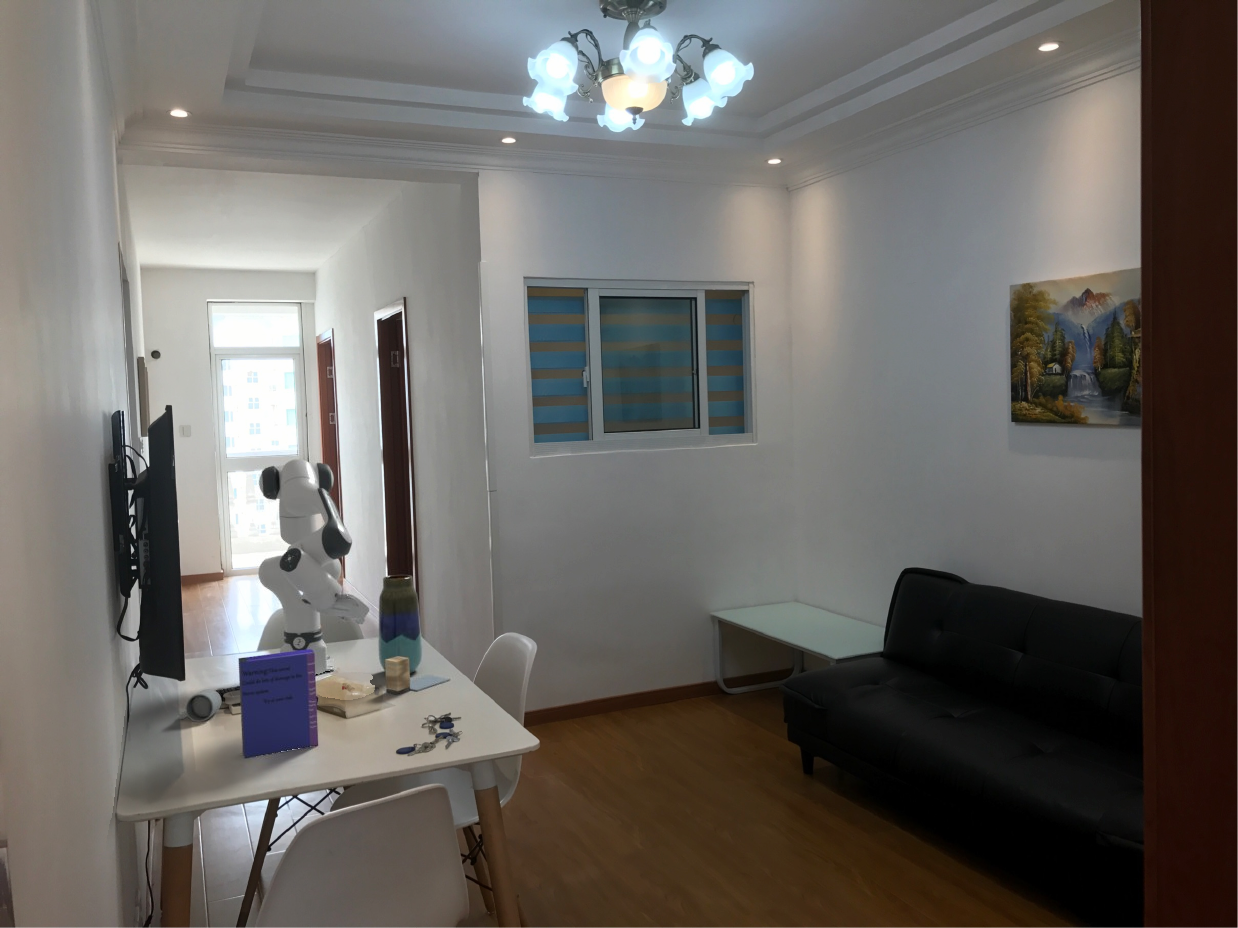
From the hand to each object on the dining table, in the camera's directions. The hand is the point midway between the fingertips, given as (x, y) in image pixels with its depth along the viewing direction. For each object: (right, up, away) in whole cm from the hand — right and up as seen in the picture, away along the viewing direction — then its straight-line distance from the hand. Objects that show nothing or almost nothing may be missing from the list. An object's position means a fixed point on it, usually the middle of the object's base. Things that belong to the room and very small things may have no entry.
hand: (354, 620), depth 275 cm
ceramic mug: (-41, -26, -7) cm, 49 cm away
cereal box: (-9, -27, -35) cm, 45 cm away
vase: (+5, -23, +36) cm, 43 cm away
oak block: (+9, -24, +14) cm, 29 cm away
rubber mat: (+15, -23, +22) cm, 35 cm away
